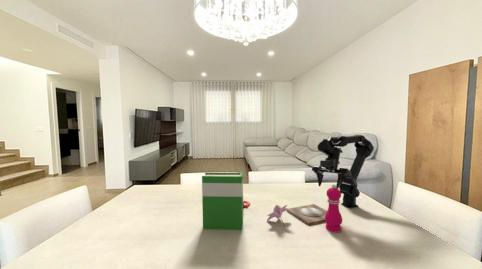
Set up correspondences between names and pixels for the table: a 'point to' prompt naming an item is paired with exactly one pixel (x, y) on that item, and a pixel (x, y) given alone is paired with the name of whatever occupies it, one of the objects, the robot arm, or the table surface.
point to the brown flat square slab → (309, 214)
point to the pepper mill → (333, 210)
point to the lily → (277, 212)
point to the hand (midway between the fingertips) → (327, 187)
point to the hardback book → (222, 201)
